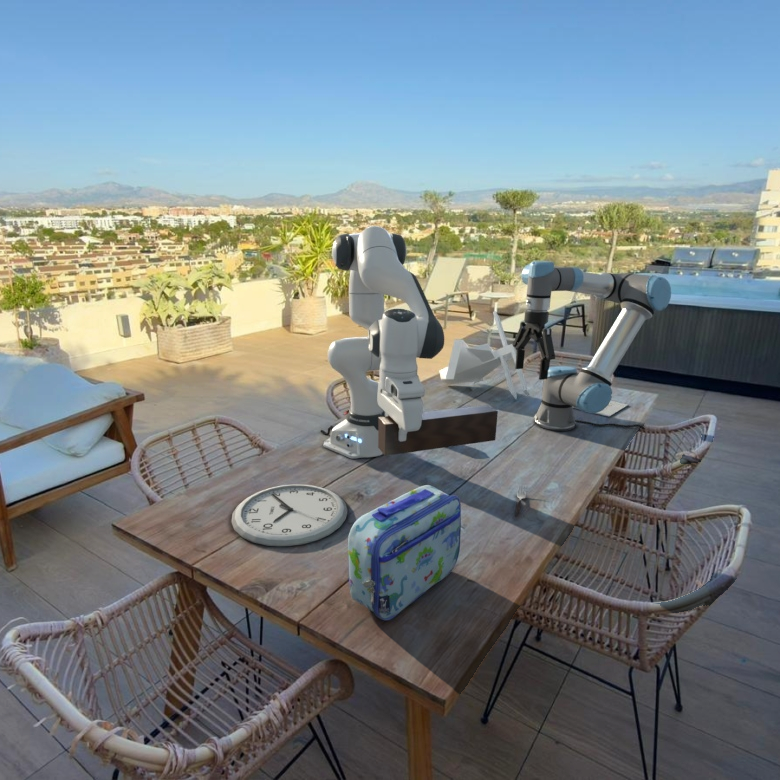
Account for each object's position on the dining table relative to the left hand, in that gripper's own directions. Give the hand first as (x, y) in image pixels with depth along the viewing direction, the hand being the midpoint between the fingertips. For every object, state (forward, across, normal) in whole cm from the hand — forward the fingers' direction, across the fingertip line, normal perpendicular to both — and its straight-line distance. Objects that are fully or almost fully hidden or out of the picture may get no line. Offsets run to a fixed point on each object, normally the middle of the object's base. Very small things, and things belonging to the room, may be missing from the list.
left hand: (396, 435), depth 126 cm
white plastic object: (+25, -94, +78) cm, 124 cm away
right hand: (-2, -33, +61) cm, 69 cm away
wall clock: (+25, -14, -24) cm, 38 cm away
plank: (+4, 0, +11) cm, 12 cm away
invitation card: (+25, -60, +118) cm, 135 cm away
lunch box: (+25, +24, -6) cm, 35 cm away
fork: (+25, +1, +37) cm, 44 cm away
